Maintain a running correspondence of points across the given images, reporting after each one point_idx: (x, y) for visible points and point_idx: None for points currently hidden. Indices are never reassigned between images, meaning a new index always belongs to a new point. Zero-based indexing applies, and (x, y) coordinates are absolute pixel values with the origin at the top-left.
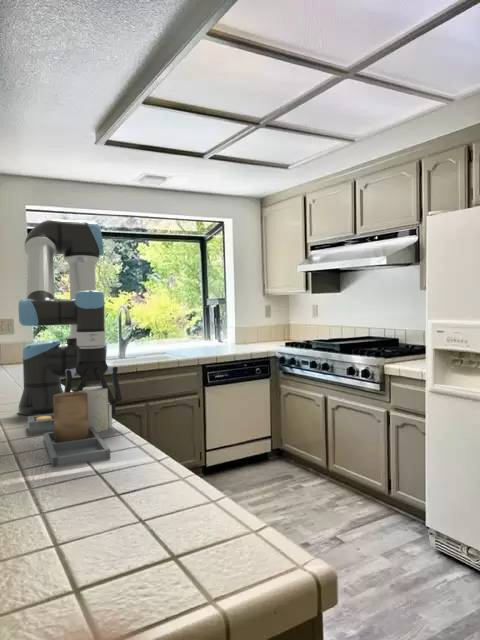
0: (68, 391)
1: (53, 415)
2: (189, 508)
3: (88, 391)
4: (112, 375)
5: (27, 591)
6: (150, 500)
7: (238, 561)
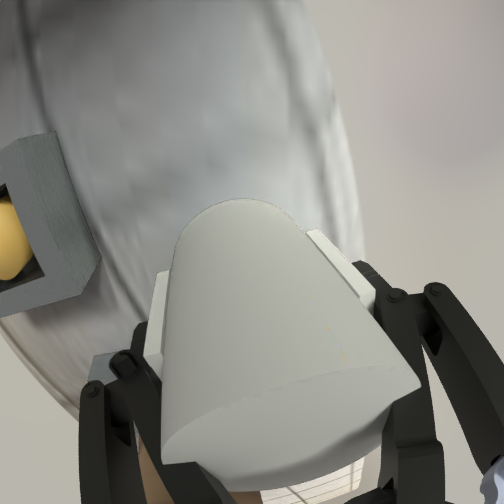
0: (133, 489)
1: (12, 198)
2: (331, 481)
3: (268, 489)
4: (480, 464)
5: None
6: (308, 482)
7: (329, 495)
